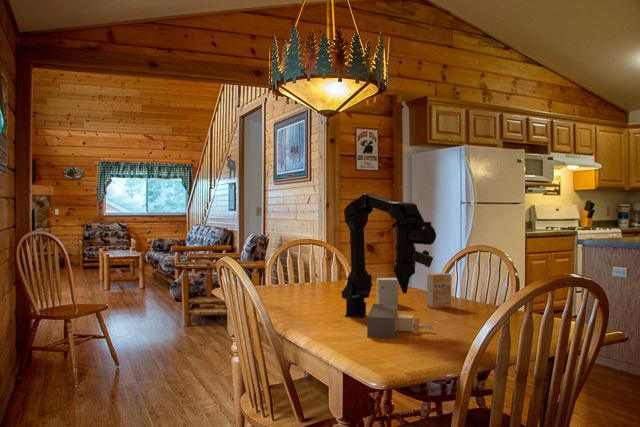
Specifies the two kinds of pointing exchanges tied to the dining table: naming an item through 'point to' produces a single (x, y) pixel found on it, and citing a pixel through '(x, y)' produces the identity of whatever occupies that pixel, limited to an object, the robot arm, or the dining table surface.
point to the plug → (408, 323)
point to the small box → (387, 291)
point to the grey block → (382, 321)
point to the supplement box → (439, 290)
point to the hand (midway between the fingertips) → (404, 292)
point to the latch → (416, 326)
